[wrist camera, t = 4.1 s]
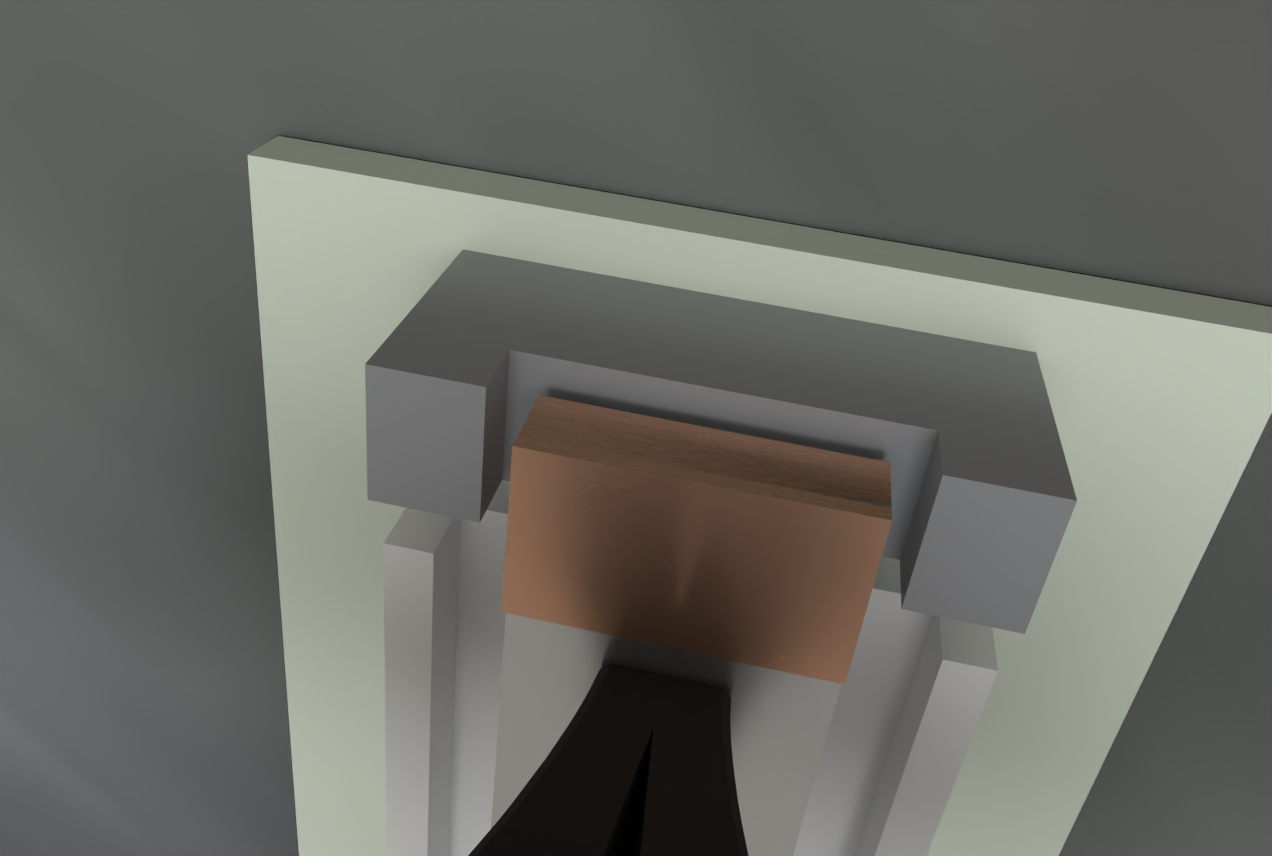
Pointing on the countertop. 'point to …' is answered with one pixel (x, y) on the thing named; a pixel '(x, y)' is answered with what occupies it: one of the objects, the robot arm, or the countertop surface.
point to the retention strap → (686, 588)
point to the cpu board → (1100, 384)
